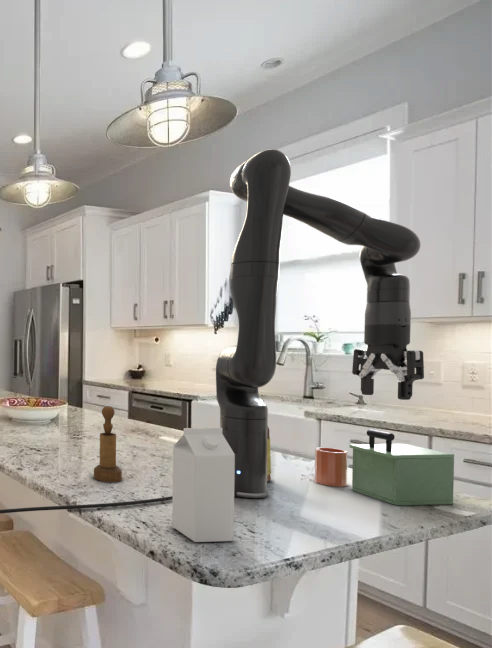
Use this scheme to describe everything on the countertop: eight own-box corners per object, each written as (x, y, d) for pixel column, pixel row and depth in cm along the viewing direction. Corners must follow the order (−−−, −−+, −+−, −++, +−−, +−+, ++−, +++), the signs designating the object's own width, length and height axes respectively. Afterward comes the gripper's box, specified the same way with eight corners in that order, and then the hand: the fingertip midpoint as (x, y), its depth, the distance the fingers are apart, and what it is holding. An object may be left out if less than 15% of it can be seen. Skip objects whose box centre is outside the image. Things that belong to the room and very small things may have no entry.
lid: (393, 458, 104) (394, 436, 104) (349, 447, 115) (349, 427, 114) (454, 457, 105) (454, 435, 105) (404, 446, 115) (405, 426, 115)
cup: (329, 487, 117) (329, 453, 117) (308, 479, 123) (309, 447, 123) (353, 486, 118) (354, 452, 117) (331, 479, 124) (332, 447, 124)
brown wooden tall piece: (95, 481, 122) (96, 407, 122) (92, 474, 129) (92, 404, 128) (124, 482, 121) (124, 408, 121) (119, 475, 127) (119, 405, 127)
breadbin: (396, 505, 104) (397, 458, 104) (351, 490, 115) (352, 447, 115) (453, 504, 105) (454, 457, 105) (404, 489, 116) (404, 446, 115)
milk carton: (171, 527, 92) (172, 424, 92) (208, 526, 93) (209, 424, 92) (194, 543, 85) (195, 432, 85) (234, 541, 86) (235, 431, 85)
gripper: (342, 324, 116) (341, 393, 117) (402, 322, 102) (400, 401, 102) (373, 324, 117) (371, 393, 117) (437, 322, 103) (435, 401, 103)
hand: (385, 397), depth 110 cm, fingers open, 8 cm apart
